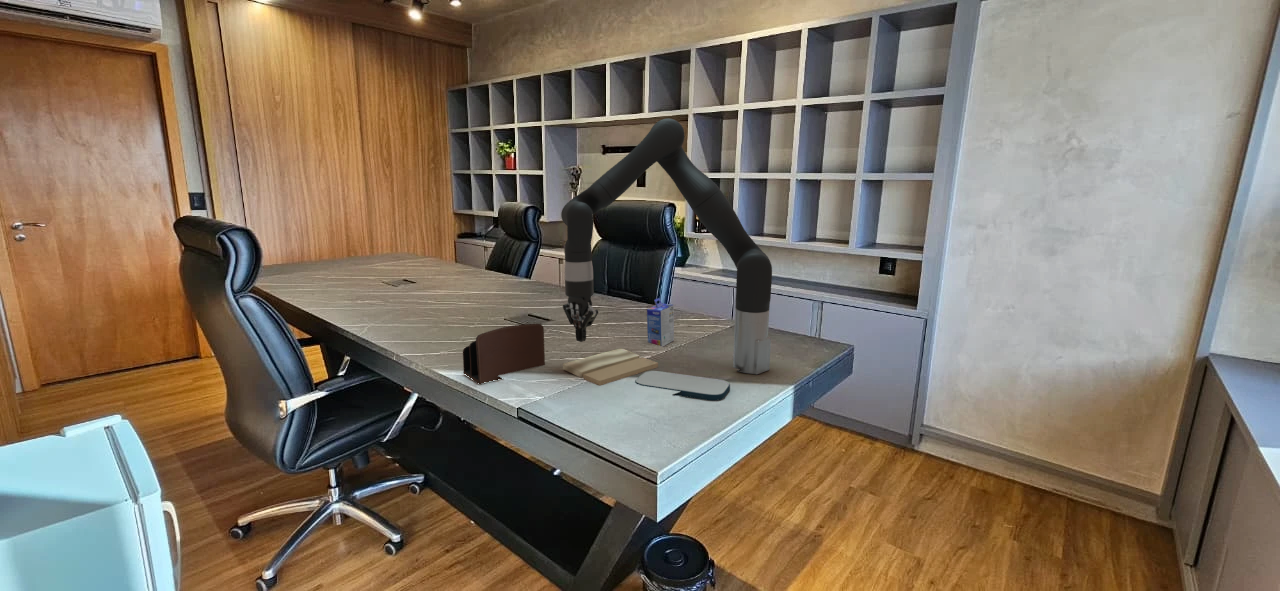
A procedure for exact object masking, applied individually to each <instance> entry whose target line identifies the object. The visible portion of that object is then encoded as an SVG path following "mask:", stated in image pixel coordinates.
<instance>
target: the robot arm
mask: <svg viewBox="0 0 1280 591" xmlns="http://www.w3.org/2000/svg"><path fill="white" fill-rule="evenodd" d="M684 141H685V130H684V127H683V126H682V124H681V123H680V122H679V121H678V120H676V119H673V118H663V119H660V120H658V121H657V122H656V123H654V124H653V125H652V127H651V128H650V130H649V132H648V133H647V134H646V135H645V137H643V139H642V140H641V141H639V143H638V144H637V145H636V146H635V147H634V148H632V150H631V151H630V152H628V154H627V155H626V156H623V158H622V159H621V160H620V161H618V162H617V163H616V164H614V165H613V166H612V167H611V168H609V169H608V170H607V171H606V172H604V173H603V174H602V175H601V176H600V177H599V178H598V179H596V181H594V182H593V183H592V184H591V185H590V186H589V187H587V188H586V189H584V190H583V191H582V192H580V193H579V194H577V195H576V196H574V197H573V198H572V199H570V200H569V201H568V202H567V203H566V204H565V205H564V206H563V208H562V209H561V213H560V215H561V216H560V217H561V220H562V222H563V224H565V226H567V228H566V231H567V233H566V235H567V239H566V241H565V242H564V292H565V296H566V297H567V303H566V304H563V305H562V309H563V312H564V313H565V315H566V318H567V320H568V322H569V324H570V325H573V328H575V340H576V342H580V343H582V342H585V341H586V340H587V328H588V327H591V326H592V325H593V323H594V322H595V319H596V318H597V317H598V315H599V310H598V309H595V308H594V307H593V301H592V296H593V295H594V293H595V291H594V267H593V261H592V260H593V259H592V258H593V254H592V253H593V252H592V239H593V231H594V222H595V221H594V215H595V214H597V212H599V211H600V210H602V209H606V208H607V207H609V206H610V205H611V204H613V202H615V201H616V200H617V199H618V198H620V197H621V196H622V195H623V194H624V193H626V191H627V190H629V189H630V187H631V186H632V185H633V184H634V183H635V182H636V181H637V180H638V179H639V178H640V177H641V176H642V175H643V174H644V173H645V172H646V171H647V170H648V169H649V168H650V167H652V166H653V165H655V163H658V164H659V166H660V167H661V168H662V169H663V170H664V171H665V173H666V174H667V175H668V176H669V177H670V179H671V180H672V181H673V183H674V184H675V186H676V187H677V189H678V190H679V192H680V194H681V195H682V197H683V198H684V199H685V201H686V202H687V204H688V206H689V207H690V209H691V210H692V212H693V213H694V214H695V216H696V217H697V218H698V220H699V221H700V222H701V224H702V225H703V226H704V227H705V228H706V230H707V231H708V232H709V233H710V234H711V235H712V236H713V237H714V238H716V240H717V242H719V243H720V244H721V245H722V247H723V248H724V249H725V250H726V252H727V254H728V255H729V257H730V259H731V260H732V262H733V264H734V266H735V268H736V279H735V282H736V283H735V284H736V287H735V305H734V306H735V307H734V308H735V309H734V312H735V314H734V331H733V332H734V337H733V356H732V357H733V359H732V360H733V363H732V368H734V369H737V372H740V373H744V374H753V375H759V374H762V373H765V372H767V371H770V366H771V364H770V363H771V347H772V346H771V342H772V337H770V336H769V321H770V308H771V307H770V303H771V300H772V299H771V298H772V297H771V296H772V282H773V266H772V262H771V260H770V258H769V256H768V255H767V253H765V252H764V251H763V250H762V249H761V248H760V247H759V246H758V245H757V243H755V241H754V239H752V238H751V236H750V235H749V234H748V232H747V230H745V228H744V226H743V224H742V223H741V220H740V219H739V216H738V215H737V213H736V211H735V210H734V208H733V206H732V204H731V203H730V201H729V200H728V199H727V197H726V196H725V194H724V193H723V191H722V190H721V189H720V187H719V186H718V184H716V183H715V181H713V180H712V179H711V178H710V177H709V176H708V175H706V174H705V173H704V172H702V171H701V169H699V168H698V167H696V165H695V164H694V163H693V162H692V161H691V160H690V157H689V156H688V155H687V153H686V151H685V150H684V149H683V147H682V146H683V144H684Z"/></svg>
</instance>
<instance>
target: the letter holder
mask: <svg viewBox="0 0 1280 591" xmlns="http://www.w3.org/2000/svg"><path fill="white" fill-rule="evenodd" d="M544 329H545V328H544V326H543V324H541V323H522V324H515V325H508V326H504V327H503V326H502V327H500V328H496V329H492V330H489V331H485V332H483V333H480V334H478V335H477V336H476V338H475V340H474V341H471V342H470V343H469V345H467V346H466V347H464V348H463V349H462V360H463V361H462V364H463V365H462V366H463V375H464V374H466V375H467V376H469V377H470V378H472V379H473V380H474V381H473V380H472V381H473V382H475V381H476V382H477V383H476V382H475V383H476V384H478V383H479V384H481V383H484V382H489V381H493V380H497V381H499V380H498V379H501V380H503V379H502V378H503V377H501V376H503V375H508V374H512V373H514V372H515V373H516V372H519V371H523V370H528V369H533V368H537V367H541V366H545V365H546V362H545V360H546V357H545V330H544ZM467 376H466V377H467ZM470 378H469V379H470ZM493 382H494V381H493ZM489 383H490V382H489ZM479 384H478V385H479ZM484 384H485V383H484ZM481 385H482V384H481Z"/></svg>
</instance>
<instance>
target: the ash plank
mask: <svg viewBox="0 0 1280 591" xmlns="http://www.w3.org/2000/svg"><path fill="white" fill-rule="evenodd" d="M638 358H641V357H640V355H639V354H637V353H635V352H631V351H630V350H626V349H624V348H617V349H613V350H609V351H605V352H602V353H597V354H595V355H591V356H590V355H589V356H586V357H583V358H579V359H575V360H571V361H568V362H564V363H562V370H563V371H566V372H568V373H570V374H573V375H574V376H576V377H579V378H583V379H584V377H583V374H587V373H590V372H594V371H597V370H600V369H604V368H607V367H611V366H614V365H617V364H621V363H624V362H628V361H631V360H635V359H638Z"/></svg>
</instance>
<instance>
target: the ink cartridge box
mask: <svg viewBox="0 0 1280 591" xmlns="http://www.w3.org/2000/svg"><path fill="white" fill-rule="evenodd" d="M653 302H654V304H655V305H654V306H651V307H649V308H647V309H646V318H647V319H646V323H647V324H646V325H647V343H649V344H653V345H656V346H660V347H665V346H667V345H669V343H672V342H674V340H675V312H674V311H675V309H674V308H675V305H674V304H671V303H662V301H661V299H660V297H658V298H655V299H654V300H653ZM658 302H659V303H658Z"/></svg>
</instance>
